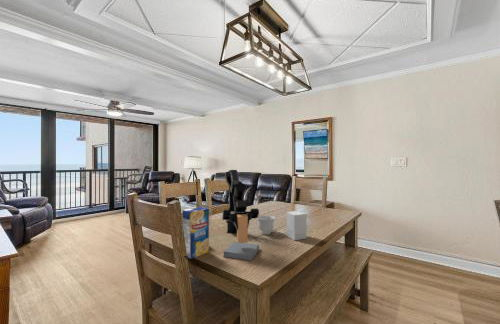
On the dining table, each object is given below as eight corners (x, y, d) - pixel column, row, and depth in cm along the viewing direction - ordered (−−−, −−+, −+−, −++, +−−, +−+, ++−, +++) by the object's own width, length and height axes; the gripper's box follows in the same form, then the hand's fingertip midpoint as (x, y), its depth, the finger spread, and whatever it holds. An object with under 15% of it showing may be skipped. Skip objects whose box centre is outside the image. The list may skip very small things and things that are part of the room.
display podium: (223, 256, 111) (223, 251, 111) (234, 246, 124) (234, 241, 124) (251, 260, 107) (251, 255, 107) (259, 249, 120) (259, 244, 120)
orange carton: (236, 239, 117) (237, 214, 117) (245, 239, 118) (245, 214, 118) (238, 243, 113) (238, 216, 113) (247, 242, 114) (247, 216, 114)
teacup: (275, 229, 156) (275, 214, 156) (275, 236, 141) (275, 220, 141) (257, 228, 157) (257, 213, 157) (256, 235, 142) (256, 219, 142)
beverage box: (182, 254, 113) (182, 210, 113) (200, 248, 121) (200, 206, 121) (190, 259, 108) (190, 212, 108) (208, 252, 116) (209, 208, 116)
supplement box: (307, 238, 137) (307, 213, 137) (294, 240, 133) (294, 215, 133) (298, 234, 145) (298, 210, 145) (286, 236, 142) (286, 211, 142)
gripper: (222, 194, 117) (225, 221, 107) (258, 193, 121) (264, 219, 111) (221, 206, 125) (223, 233, 114) (254, 205, 129) (259, 230, 118)
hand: (242, 228), depth 114 cm, fingers closed on orange carton, 5 cm apart
